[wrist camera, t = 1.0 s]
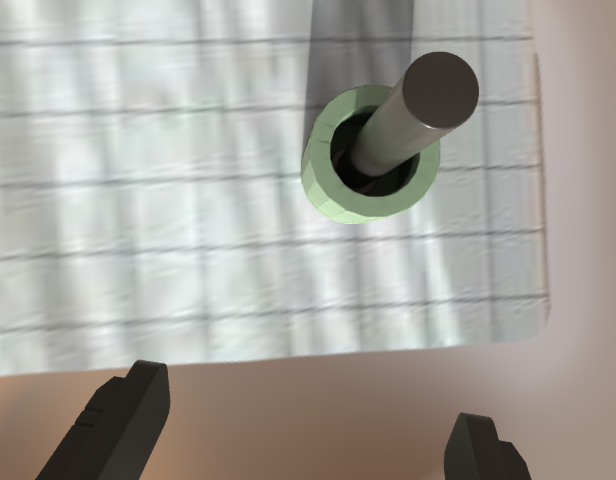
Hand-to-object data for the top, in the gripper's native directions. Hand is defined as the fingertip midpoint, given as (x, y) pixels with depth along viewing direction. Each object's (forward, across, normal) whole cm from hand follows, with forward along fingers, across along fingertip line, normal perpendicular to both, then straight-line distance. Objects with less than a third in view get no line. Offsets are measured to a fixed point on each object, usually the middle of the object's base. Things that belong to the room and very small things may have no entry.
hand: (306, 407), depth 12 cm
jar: (+25, -1, +3) cm, 25 cm away
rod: (+25, -1, +2) cm, 25 cm away
